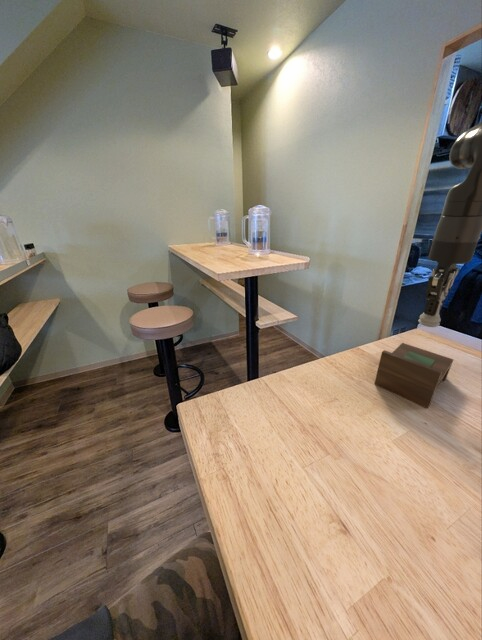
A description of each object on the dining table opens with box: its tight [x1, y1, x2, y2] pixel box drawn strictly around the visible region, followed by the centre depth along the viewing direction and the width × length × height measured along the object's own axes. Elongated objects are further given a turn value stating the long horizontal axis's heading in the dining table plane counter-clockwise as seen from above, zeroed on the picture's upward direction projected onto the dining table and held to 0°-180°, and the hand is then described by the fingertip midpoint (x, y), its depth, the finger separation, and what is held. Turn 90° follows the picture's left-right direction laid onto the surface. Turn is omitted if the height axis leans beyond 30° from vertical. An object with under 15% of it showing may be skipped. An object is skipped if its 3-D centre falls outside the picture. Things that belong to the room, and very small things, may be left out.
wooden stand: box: [374, 342, 455, 409], centre depth 65 cm, size 16×12×10 cm
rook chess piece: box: [417, 292, 446, 328], centre depth 60 cm, size 4×4×8 cm
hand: (432, 312), depth 61 cm, fingers closed on rook chess piece, 3 cm apart
